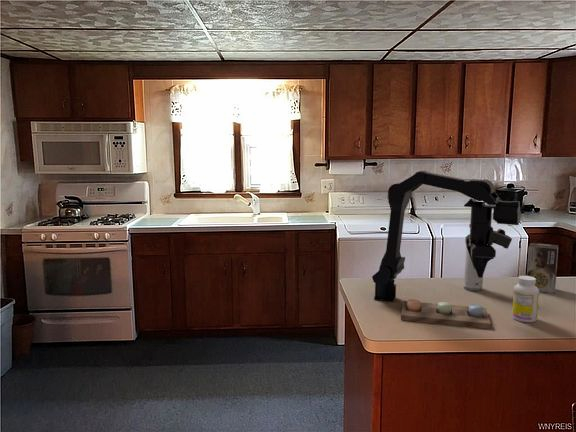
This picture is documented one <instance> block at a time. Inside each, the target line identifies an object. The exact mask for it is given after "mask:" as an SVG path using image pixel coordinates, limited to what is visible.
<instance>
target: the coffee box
mask: <svg viewBox="0 0 576 432" xmlns="http://www.w3.org/2000/svg"><path fill="white" fill-rule="evenodd" d="M558 254H559V245H558V244H547V243H536V242H530V243H529V246H528V257H527V268H526V269H527V271H526V276H531V277H534V278H536V283H535V286H536V287H537V288H538V289H539V292H542V293H543V292H544V293H550V294H555V292H556V285H557V284H556V283H557V269H558V257H559V255H558Z"/></svg>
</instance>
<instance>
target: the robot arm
mask: <svg viewBox="0 0 576 432" xmlns="http://www.w3.org/2000/svg"><path fill="white" fill-rule="evenodd" d="M423 185H426V186H429V187H430V186H431V187H435V188H439V189H444V190H449V191H453V192H458V193H460V194H463V195H464V196H466V197H468V198H470V199H468V201H467V202H465V203H464V205H463V207H465V208H470V223H469V234H467V236H465V239H464V240H465V248H466V247H467V250H468V252H469V255H470V258H471V261H472V264H473V267H474V269H476V272H477V275H478V277H479V278H482V277H483V278H484V274H485V270H486V268H487V265H488V263H489V262H490V261H491V260H493V259H495V258H497V257H496V255H497V250H496V248H495V247H494V246H493V245H498V246H501V247H503V249H506V250H507V249H509V247H510V246H511V245H510V244H511V243H512V240H513V238H512V237H511V236H509V235H507V234H506V231H505V230H504V229H502V228H499V229H497V230H494V228H493V226H492V219H493V220H494V222H496V224H497V225H498V224H499V225H507V226H508V225H511V226H520V223H521V217H522V211H521V205H520V204H521V202H520V201H518V200H513V201H512V200H511V201H508V200H502V199H501V198H500V196H499V194H497V192H496V191H495V190H496V189H495V188H496V187H495V184H494V183H493V182H492V181H491V180H489V179H485V178H484V179H481V178H480V179H478V178H475V179H473V178H470V179H467V178H466V179H465V178H464V179H463V178H458V177H454V176H448V175H444V174H438V173H433V172H428V171H426V170H419V171H417V172H415V173H414V174H413V175H411V176H409V177H408V178H406V179H404V180H403V181H401V182H398V183H394V184H392V185H391V186H389V188H388V190H387V199H388V200H387V201H388V202H387V203H388V204H389V205H388V206H389V209H390V214H389V223H388V233H387V240H386V249H385V252H384V253H383V257H382V259H381V262H380V264H379V269H378V271H377V272H375V274H372V277H371V278H372V282H373V283H374V297H373V301H374V300H375V301H376V300H377V301H387V302H394V301H395V299H396V297H397V284H396V283H395V279H396V278H397V277H398V275H399V274H401V273H402V271H403V270H404V269H405V261H406V257H405V256H402V255H401V245H402V238H403V237H402V236H403V229H404V220H405V214H406V213H405V212H406V209H407V207H408V205H409V204H410V200H411V198H412V194H413V192H414V191H415V190H417V189H419V188H420V187H421V186H423ZM468 243H469V245H468ZM466 244H467V245H466Z"/></svg>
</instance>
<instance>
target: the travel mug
mask: <svg viewBox="0 0 576 432" xmlns="http://www.w3.org/2000/svg"><path fill="white" fill-rule="evenodd" d="M466 245H467V244H466V243H465V255H464V276H463V289H464V290H466V291H470V292H481V291H482V290H483V283H484V276H483V277H482V278H479V277H478V275H477V272H476V269H474V267H473V264H472V261H471V258H470V255H469V252H468V250H467V247H466ZM468 245H469V243H468Z"/></svg>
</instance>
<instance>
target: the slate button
mask: <svg viewBox="0 0 576 432" xmlns="http://www.w3.org/2000/svg"><path fill="white" fill-rule="evenodd" d="M468 306H469V315H470V317H481V318H483V317H482V316H483V308H484V307H483V306H482V305H480V304H469V305H468Z"/></svg>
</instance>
